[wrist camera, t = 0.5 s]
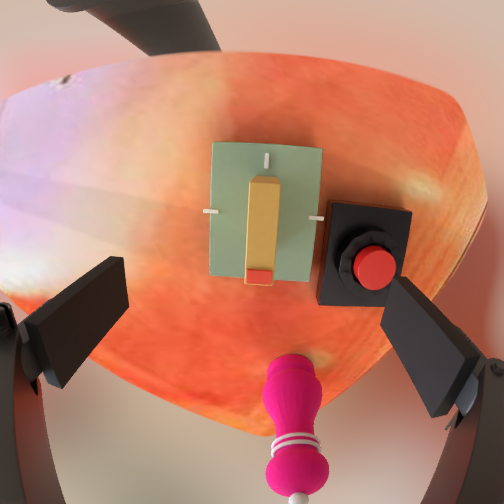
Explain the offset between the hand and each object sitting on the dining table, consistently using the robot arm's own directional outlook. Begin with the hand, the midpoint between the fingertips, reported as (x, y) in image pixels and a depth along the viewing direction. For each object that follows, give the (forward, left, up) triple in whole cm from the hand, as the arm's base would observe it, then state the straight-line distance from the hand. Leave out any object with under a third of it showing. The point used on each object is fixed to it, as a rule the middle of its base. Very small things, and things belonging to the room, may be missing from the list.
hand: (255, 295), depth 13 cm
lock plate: (-1, 0, -17) cm, 17 cm away
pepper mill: (+20, +5, -18) cm, 27 cm away
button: (+3, +11, -14) cm, 18 cm away
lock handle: (-1, 0, -14) cm, 14 cm away
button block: (+3, +11, -17) cm, 21 cm away
